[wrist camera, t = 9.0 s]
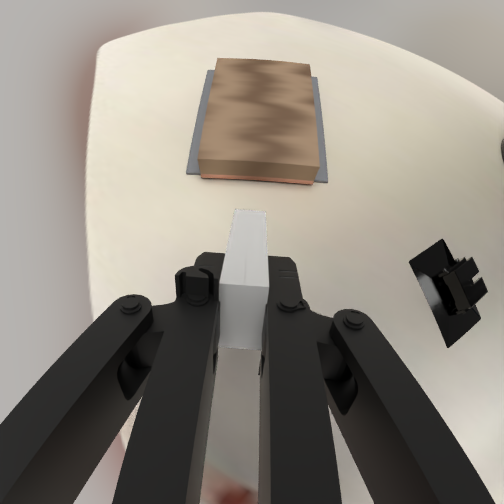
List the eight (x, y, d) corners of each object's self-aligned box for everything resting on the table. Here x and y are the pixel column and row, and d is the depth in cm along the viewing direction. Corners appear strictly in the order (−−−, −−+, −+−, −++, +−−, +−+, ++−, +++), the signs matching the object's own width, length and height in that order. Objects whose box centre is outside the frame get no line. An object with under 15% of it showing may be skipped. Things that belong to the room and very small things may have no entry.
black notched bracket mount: (485, 326, 24) (514, 320, 20) (442, 366, 23) (472, 366, 19) (437, 223, 27) (461, 205, 23) (388, 252, 26) (412, 235, 22)
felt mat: (316, 79, 32) (317, 77, 31) (327, 183, 27) (328, 181, 27) (207, 71, 32) (207, 69, 31) (186, 174, 27) (186, 172, 27)
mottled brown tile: (312, 184, 27) (305, 83, 31) (319, 166, 24) (309, 64, 28) (201, 177, 27) (218, 77, 31) (197, 158, 24) (217, 58, 28)
